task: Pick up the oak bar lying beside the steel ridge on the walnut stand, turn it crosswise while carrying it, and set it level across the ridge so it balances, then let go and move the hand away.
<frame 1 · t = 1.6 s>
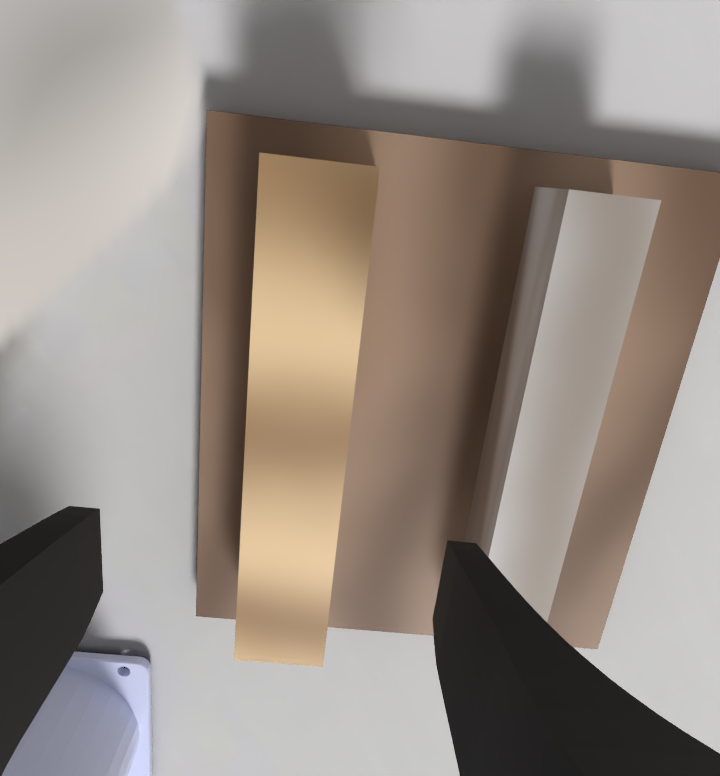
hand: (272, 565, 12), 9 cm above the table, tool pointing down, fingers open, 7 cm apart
oak bar: (304, 411, 20), point 1 cm above the table, touching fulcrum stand
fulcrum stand: (431, 413, 21), on the table
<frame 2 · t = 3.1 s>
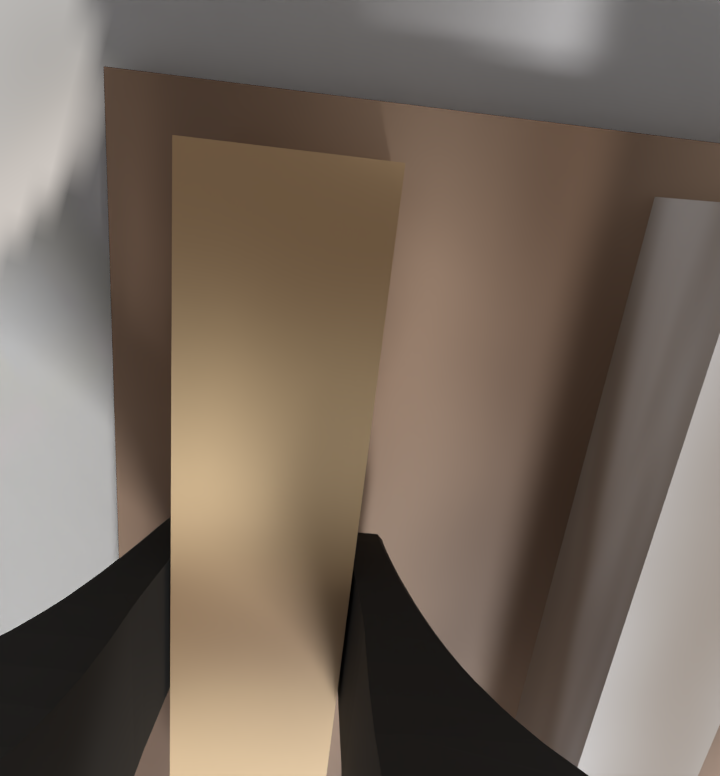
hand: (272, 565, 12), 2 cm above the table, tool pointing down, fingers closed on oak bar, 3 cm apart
oak bar: (277, 540, 13), point 1 cm above the table, touching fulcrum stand, gripper
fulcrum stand: (469, 532, 14), on the table
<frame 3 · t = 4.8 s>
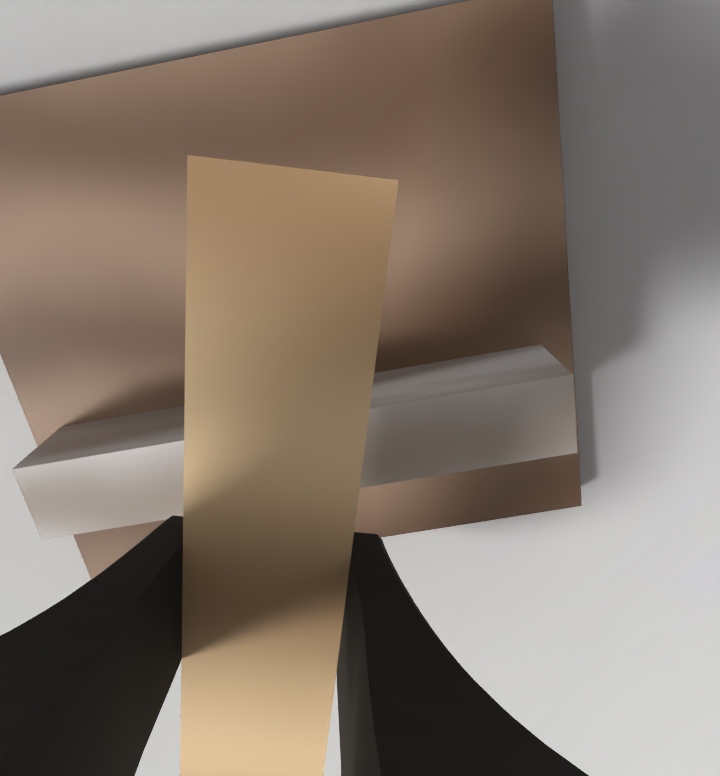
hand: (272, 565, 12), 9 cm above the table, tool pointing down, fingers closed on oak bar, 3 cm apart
oak bar: (281, 528, 14), point 7 cm above the table, touching gripper
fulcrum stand: (286, 326, 20), on the table
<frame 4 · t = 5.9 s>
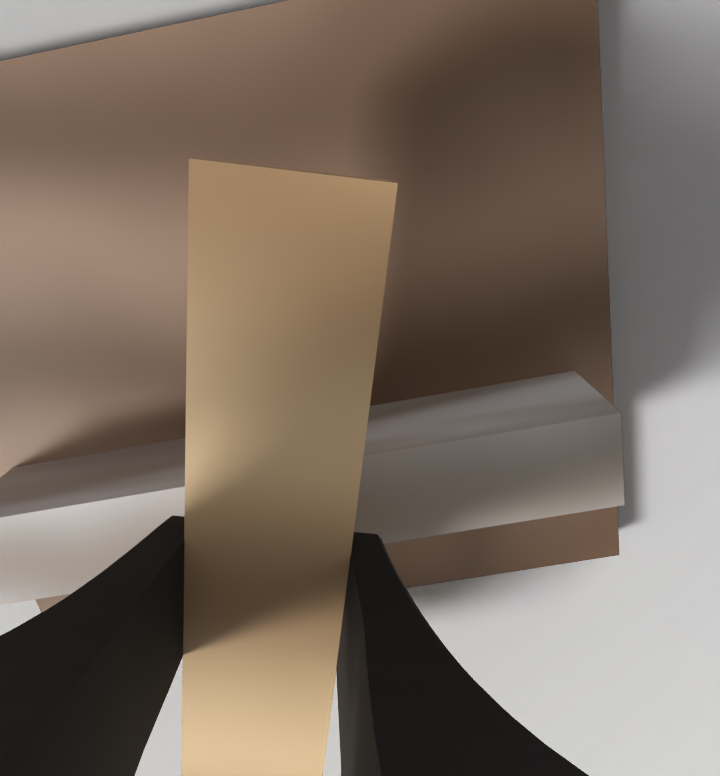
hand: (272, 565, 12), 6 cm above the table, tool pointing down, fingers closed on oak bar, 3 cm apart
oak bar: (281, 528, 14), point 4 cm above the table, touching gripper
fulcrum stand: (275, 349, 17), on the table
when the fingers open (6 cm above the table, at t = 6.6 s): oak bar stays where it is, resting on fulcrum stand.
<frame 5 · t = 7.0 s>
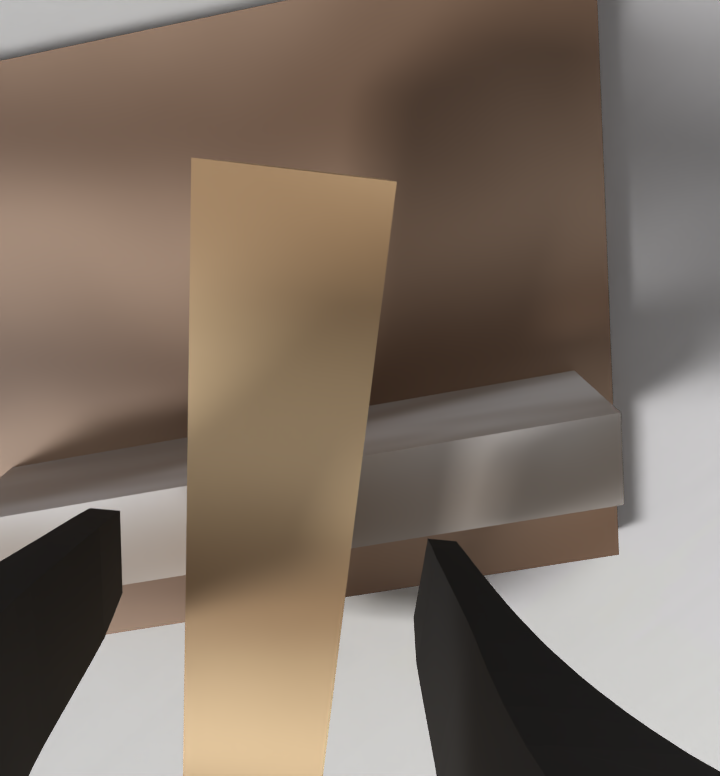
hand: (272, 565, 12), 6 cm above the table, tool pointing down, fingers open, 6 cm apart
oak bar: (282, 524, 14), point 4 cm above the table, touching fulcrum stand
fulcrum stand: (275, 348, 17), on the table
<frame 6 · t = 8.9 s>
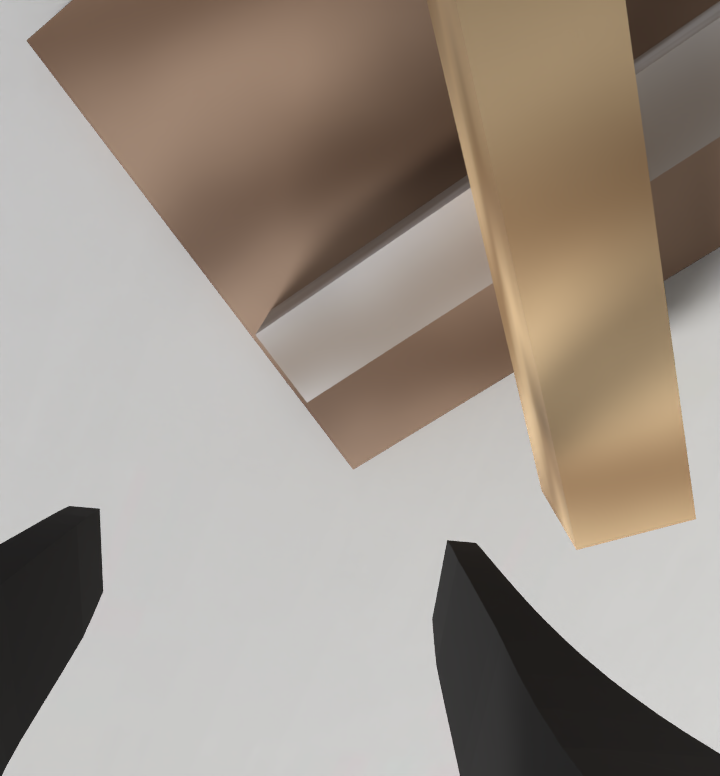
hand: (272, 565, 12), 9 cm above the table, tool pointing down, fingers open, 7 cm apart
oak bar: (537, 210, 15), point 4 cm above the table, touching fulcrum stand
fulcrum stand: (450, 108, 18), on the table
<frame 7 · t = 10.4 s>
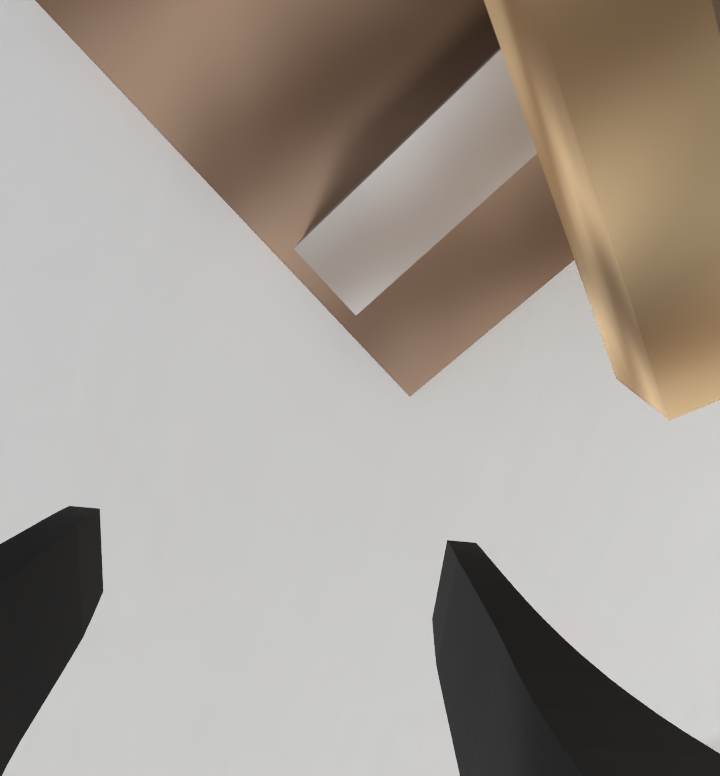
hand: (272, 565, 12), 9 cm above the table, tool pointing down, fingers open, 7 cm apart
oak bar: (576, 63, 14), point 4 cm above the table, touching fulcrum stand
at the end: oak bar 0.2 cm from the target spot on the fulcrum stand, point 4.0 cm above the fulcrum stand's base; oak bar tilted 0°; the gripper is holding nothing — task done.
